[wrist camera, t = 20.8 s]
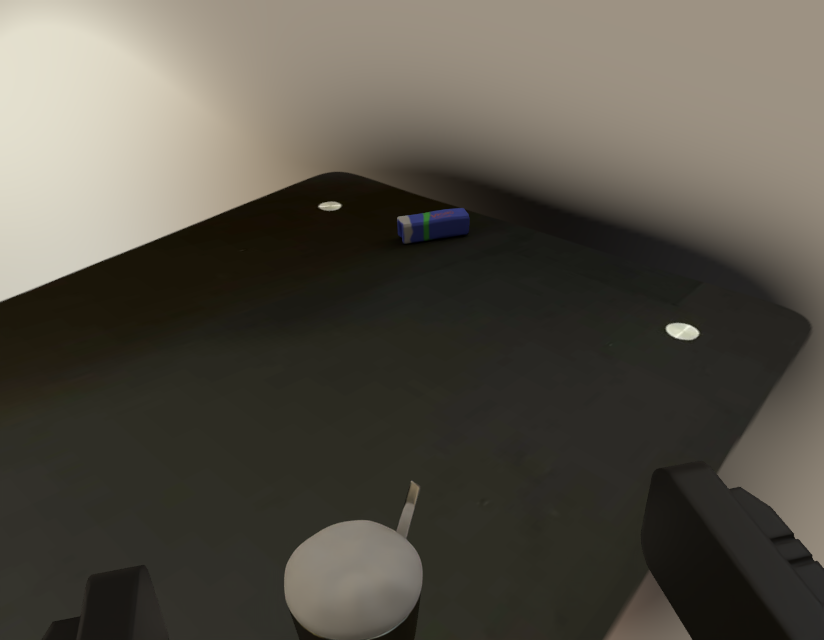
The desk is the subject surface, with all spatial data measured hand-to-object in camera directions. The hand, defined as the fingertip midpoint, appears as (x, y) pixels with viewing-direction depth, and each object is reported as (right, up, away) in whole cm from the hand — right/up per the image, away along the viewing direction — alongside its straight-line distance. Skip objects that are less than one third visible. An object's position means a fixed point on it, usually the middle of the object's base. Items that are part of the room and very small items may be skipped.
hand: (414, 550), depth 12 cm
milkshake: (-1, -12, +17) cm, 21 cm away
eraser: (+2, +11, +54) cm, 55 cm away
